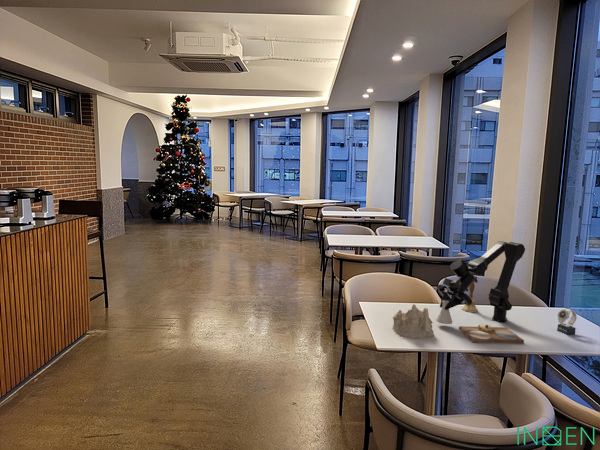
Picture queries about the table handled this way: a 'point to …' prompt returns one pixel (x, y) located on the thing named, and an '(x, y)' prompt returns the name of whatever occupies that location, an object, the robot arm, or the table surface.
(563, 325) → the watch
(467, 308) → the hand bell
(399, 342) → the table surface
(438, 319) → the flask
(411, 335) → the ceramic cottage
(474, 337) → the gear board
